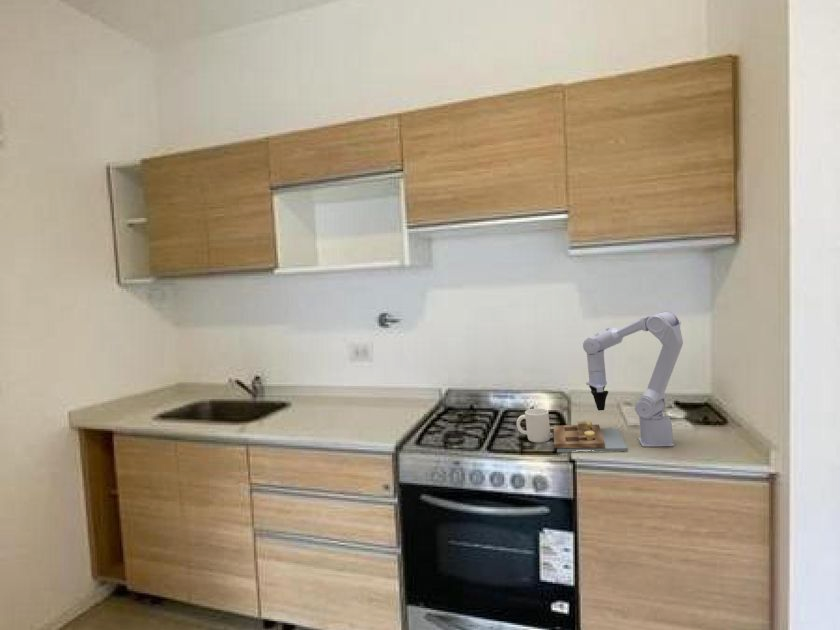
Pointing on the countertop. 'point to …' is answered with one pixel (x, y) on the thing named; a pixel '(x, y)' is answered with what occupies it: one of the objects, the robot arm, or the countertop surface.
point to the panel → (577, 436)
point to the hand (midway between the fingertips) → (599, 407)
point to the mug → (536, 425)
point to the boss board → (611, 440)
